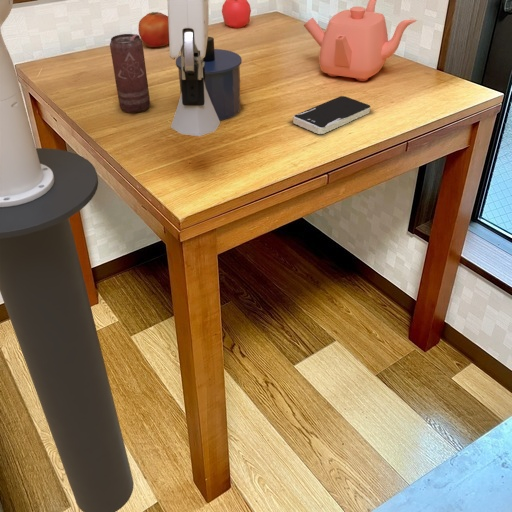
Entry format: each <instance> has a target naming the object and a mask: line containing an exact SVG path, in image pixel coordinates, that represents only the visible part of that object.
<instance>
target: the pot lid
mask: <svg viewBox="0 0 512 512" xmlns="http://www.w3.org/2000/svg"><path fill="white" fill-rule="evenodd" d="M214 38H215V37H213V36H208V39H207V47H206V54H205V57H204V58H203V62H205V64H204V66H203V67H205V74H218V73H223V72H228V71H231V70H233V69H235V68H237V67H239V66H241V65H242V62H243V60H242V57H241V56H240V54H238V53H237V52H234V51H232V50H228V49H221V48H215V39H214ZM175 66H176V68H177V69H178V68H179V69H180V70H182V69H181V54H179V56H178V58H175Z"/></svg>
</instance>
